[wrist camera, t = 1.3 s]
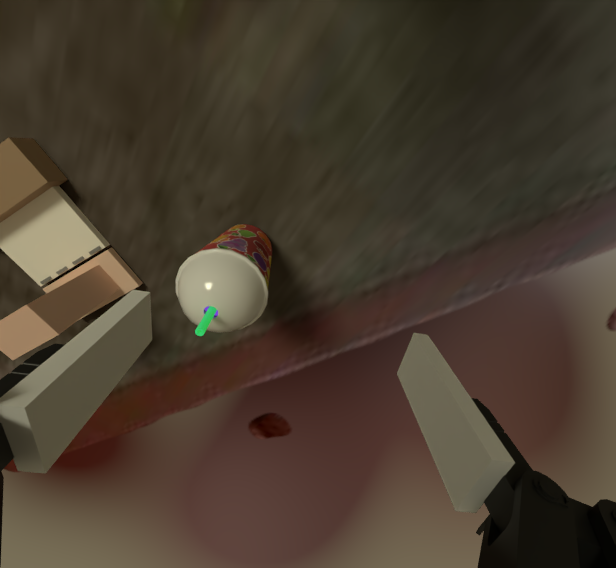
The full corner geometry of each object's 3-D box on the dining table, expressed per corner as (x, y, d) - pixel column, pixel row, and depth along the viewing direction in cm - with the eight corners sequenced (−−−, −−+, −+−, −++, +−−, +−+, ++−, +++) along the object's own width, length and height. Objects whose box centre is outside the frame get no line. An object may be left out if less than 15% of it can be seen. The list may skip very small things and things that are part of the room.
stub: (48, 285, 40) (-46, 335, 29) (111, 247, 38) (35, 285, 27) (81, 317, 42) (4, 375, 32) (143, 283, 40) (84, 331, 29)
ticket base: (-56, 198, 35) (-86, 202, 32) (29, 134, 32) (4, 132, 30) (39, 288, 40) (20, 297, 38) (118, 239, 38) (104, 246, 35)
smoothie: (216, 271, 40) (144, 371, 22) (217, 211, 36) (132, 271, 18) (275, 278, 40) (254, 381, 22) (282, 220, 37) (262, 287, 19)
